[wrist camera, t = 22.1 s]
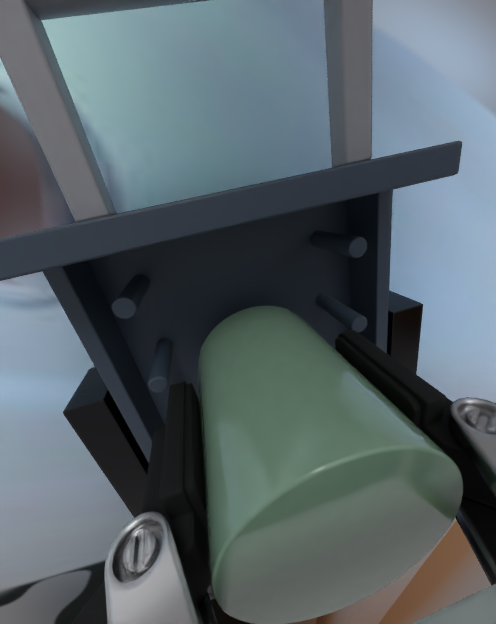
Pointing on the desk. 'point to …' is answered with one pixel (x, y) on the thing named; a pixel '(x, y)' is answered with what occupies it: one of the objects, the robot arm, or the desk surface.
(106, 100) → the desk surface
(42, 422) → the desk surface
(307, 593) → the sage green cylinder
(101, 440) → the rack rails
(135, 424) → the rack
